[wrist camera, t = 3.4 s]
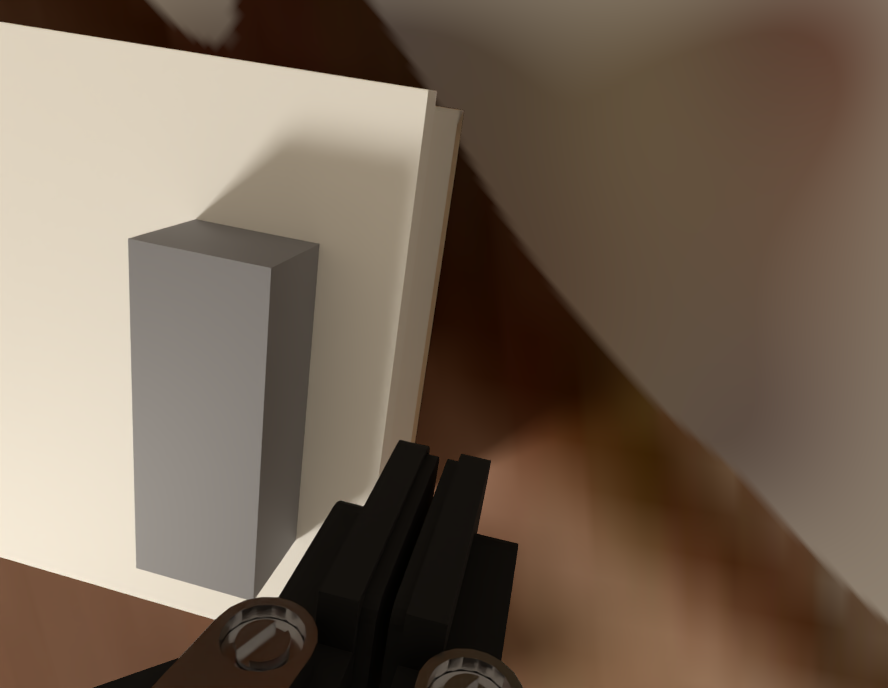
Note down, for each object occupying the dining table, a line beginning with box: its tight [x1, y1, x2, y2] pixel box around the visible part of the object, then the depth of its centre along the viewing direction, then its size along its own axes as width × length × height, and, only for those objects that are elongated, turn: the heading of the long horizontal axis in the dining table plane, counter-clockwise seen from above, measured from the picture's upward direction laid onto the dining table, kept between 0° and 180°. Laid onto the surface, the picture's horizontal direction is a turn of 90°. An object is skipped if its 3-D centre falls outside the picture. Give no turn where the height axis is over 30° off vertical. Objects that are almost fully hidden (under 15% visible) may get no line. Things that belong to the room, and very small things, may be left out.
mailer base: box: [388, 105, 464, 460], centre depth 21 cm, size 20×14×6 cm
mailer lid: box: [0, 22, 437, 620], centre depth 18 cm, size 22×15×6 cm
